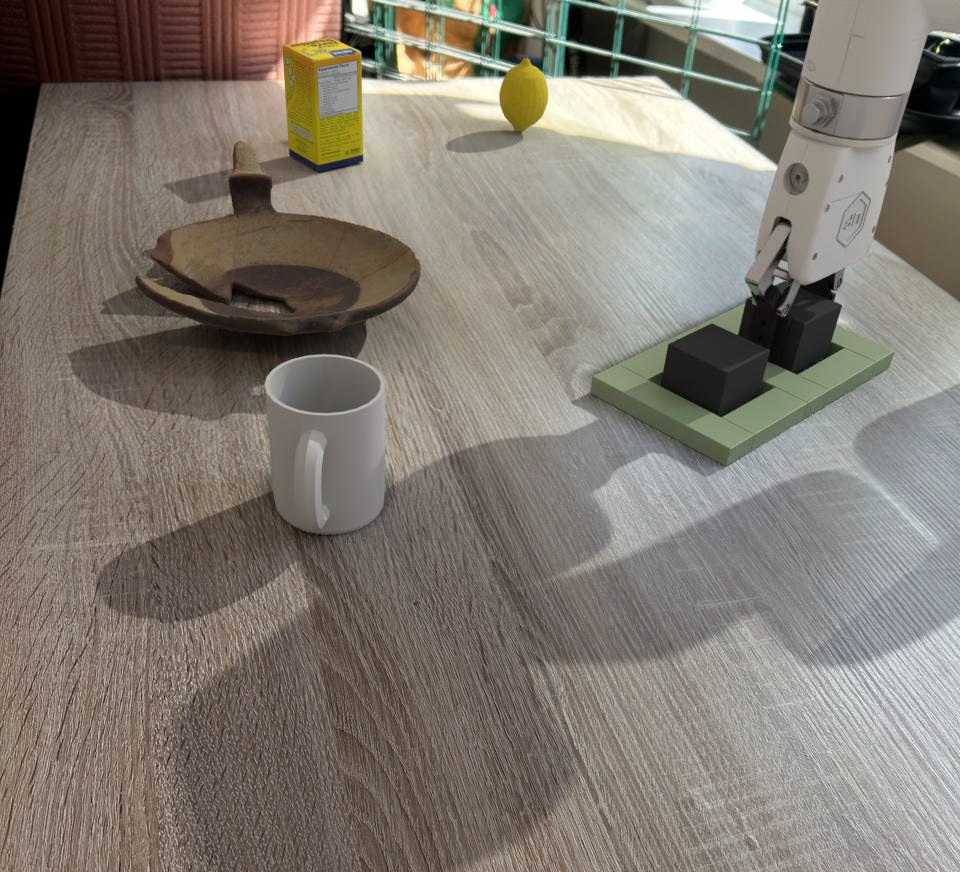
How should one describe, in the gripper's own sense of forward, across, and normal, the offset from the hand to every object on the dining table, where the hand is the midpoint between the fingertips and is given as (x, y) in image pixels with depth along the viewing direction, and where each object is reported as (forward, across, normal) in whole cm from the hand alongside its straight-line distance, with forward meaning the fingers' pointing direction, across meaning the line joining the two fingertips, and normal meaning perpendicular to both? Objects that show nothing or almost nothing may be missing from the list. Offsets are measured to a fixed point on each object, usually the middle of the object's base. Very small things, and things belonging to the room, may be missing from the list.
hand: (784, 341), depth 90 cm
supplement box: (+2, -2, +57) cm, 57 cm away
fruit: (+2, +22, +51) cm, 56 cm away
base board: (+2, -5, 0) cm, 5 cm away
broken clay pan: (+2, -25, +33) cm, 41 cm away
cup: (+2, -42, +7) cm, 43 cm away
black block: (+2, -10, 0) cm, 10 cm away
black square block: (+1, 0, 0) cm, 1 cm away
